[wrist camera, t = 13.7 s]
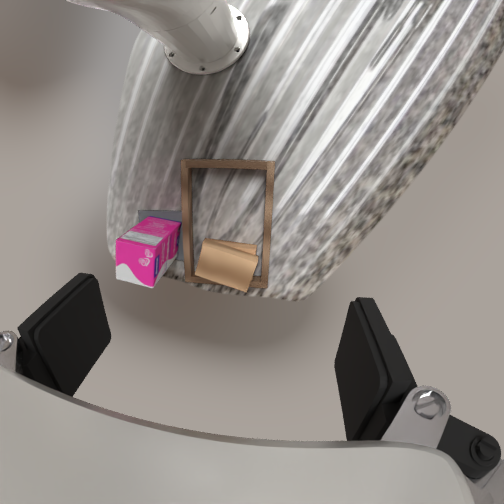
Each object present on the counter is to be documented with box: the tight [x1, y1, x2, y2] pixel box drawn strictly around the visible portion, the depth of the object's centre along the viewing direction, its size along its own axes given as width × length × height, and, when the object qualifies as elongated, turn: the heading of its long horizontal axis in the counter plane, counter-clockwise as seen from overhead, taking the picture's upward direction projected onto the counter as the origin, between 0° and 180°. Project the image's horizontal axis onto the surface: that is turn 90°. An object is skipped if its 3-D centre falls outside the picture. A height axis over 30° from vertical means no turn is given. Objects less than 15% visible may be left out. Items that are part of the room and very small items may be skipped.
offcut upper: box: [195, 239, 259, 292], centre depth 42 cm, size 5×8×2 cm, turn 72°
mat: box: [138, 210, 184, 260], centre depth 45 cm, size 8×8×1 cm
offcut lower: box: [202, 238, 257, 280], centre depth 45 cm, size 5×8×2 cm, turn 84°
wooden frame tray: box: [181, 159, 275, 288], centre depth 42 cm, size 19×13×3 cm
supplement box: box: [116, 216, 181, 288], centre depth 39 cm, size 6×6×12 cm
